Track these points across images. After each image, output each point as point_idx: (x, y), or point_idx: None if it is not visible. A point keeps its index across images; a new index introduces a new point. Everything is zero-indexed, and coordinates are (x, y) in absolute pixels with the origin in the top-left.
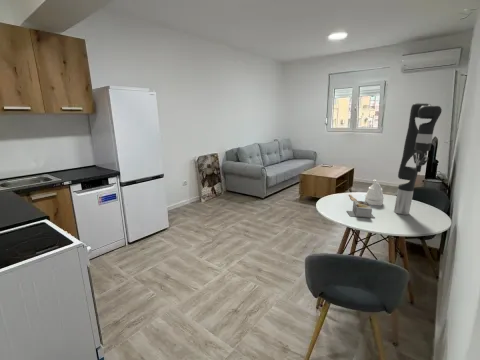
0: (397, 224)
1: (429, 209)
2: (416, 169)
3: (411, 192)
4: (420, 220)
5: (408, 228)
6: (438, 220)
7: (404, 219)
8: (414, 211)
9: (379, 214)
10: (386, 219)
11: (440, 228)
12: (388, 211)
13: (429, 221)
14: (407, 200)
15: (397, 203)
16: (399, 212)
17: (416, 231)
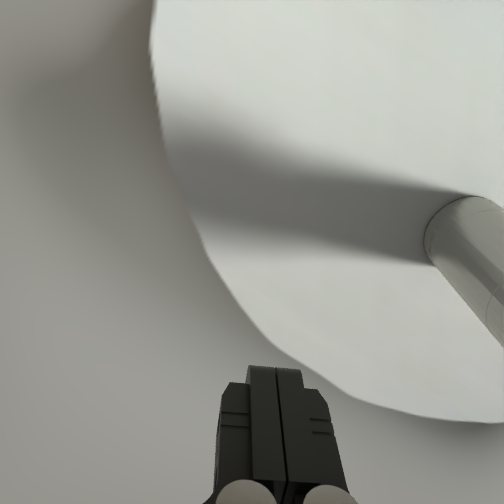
0: (281, 92)
1: (481, 400)
2: (265, 394)
3: (499, 333)
4: (340, 269)
5: (222, 127)
6: (337, 352)
7: (359, 188)
8: (469, 316)
9: (459, 62)
10: (365, 62)
11: (237, 299)
12: (499, 164)
13: (326, 304)
14: (469, 279)
15: (500, 222)
16: (448, 210)
17: (183, 149)
